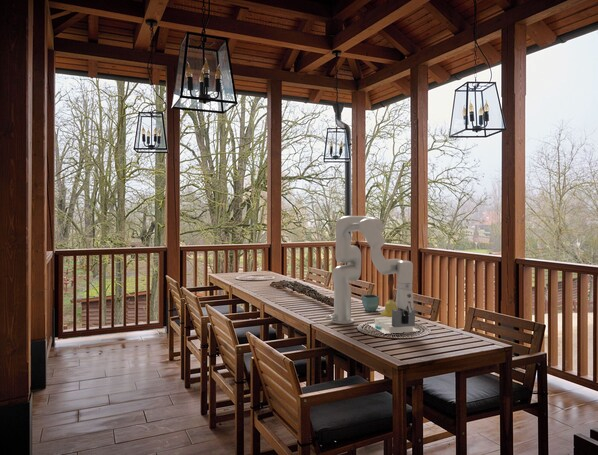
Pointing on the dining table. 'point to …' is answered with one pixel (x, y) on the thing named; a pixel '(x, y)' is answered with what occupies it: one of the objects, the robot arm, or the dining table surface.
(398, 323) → the panel
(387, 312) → the handbell
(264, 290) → the dining table surface
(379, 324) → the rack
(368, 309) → the flower pot
